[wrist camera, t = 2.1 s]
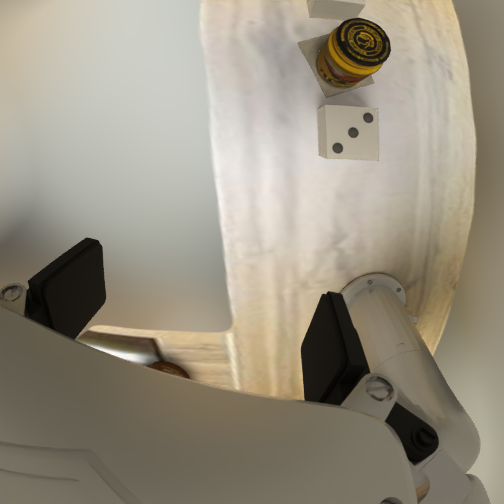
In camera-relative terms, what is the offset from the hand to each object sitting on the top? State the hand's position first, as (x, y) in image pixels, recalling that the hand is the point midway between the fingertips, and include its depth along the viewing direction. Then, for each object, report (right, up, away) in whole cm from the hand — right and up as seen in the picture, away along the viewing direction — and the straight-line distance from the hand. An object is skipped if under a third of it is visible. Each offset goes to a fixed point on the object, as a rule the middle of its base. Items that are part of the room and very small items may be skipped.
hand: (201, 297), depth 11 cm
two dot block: (+12, +35, +13) cm, 39 cm away
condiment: (+13, +26, +17) cm, 34 cm away
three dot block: (+13, +17, +21) cm, 30 cm away
